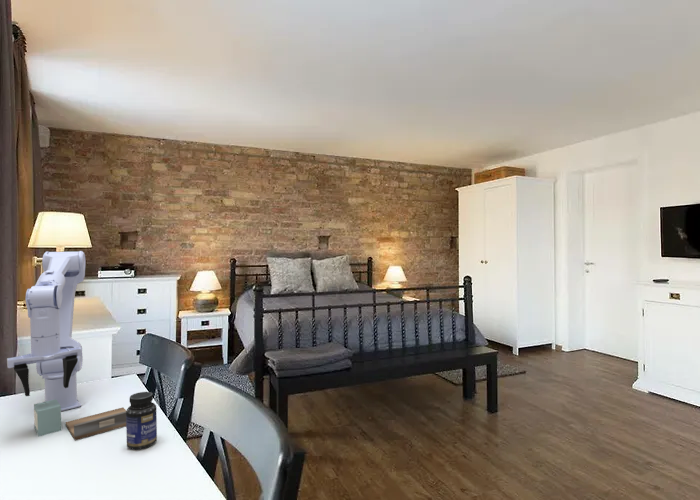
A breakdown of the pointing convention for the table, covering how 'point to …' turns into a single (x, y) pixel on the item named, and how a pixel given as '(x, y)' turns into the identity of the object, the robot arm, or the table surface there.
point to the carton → (47, 417)
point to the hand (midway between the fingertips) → (47, 390)
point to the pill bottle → (141, 421)
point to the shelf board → (97, 423)
